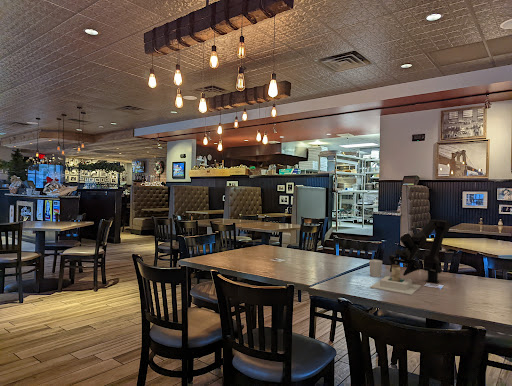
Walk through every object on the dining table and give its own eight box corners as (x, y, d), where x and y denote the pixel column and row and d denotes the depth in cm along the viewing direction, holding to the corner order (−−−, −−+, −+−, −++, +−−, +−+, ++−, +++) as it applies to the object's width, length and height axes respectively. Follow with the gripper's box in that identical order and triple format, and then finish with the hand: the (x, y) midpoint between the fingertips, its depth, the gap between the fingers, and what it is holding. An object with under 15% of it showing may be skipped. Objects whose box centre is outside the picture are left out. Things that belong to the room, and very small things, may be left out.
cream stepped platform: (382, 280, 218) (382, 273, 218) (421, 286, 205) (421, 279, 205) (369, 287, 199) (370, 280, 199) (411, 295, 186) (411, 287, 186)
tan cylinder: (398, 285, 204) (399, 264, 204) (401, 287, 199) (401, 266, 199) (390, 284, 204) (390, 264, 204) (392, 287, 199) (393, 265, 199)
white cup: (373, 277, 224) (374, 262, 224) (366, 274, 231) (367, 259, 231) (384, 277, 226) (384, 261, 226) (377, 274, 234) (377, 259, 234)
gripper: (390, 241, 213) (377, 261, 207) (418, 246, 196) (404, 267, 191) (399, 253, 216) (386, 273, 211) (426, 259, 200) (413, 280, 195)
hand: (396, 273), depth 202 cm, fingers open, 9 cm apart
